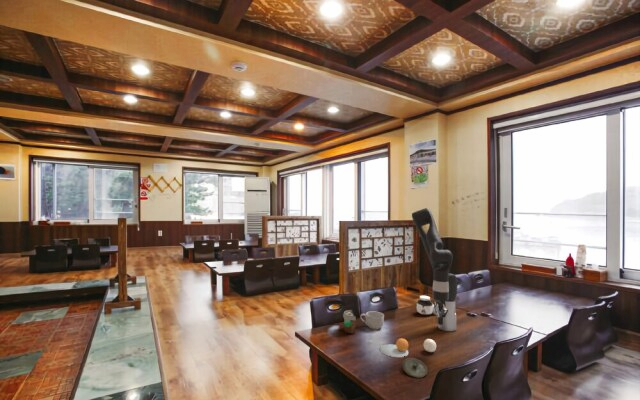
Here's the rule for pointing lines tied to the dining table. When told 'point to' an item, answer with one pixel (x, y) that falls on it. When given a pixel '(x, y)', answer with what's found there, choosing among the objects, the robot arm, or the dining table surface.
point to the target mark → (393, 351)
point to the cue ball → (429, 345)
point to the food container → (349, 321)
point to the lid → (414, 367)
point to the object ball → (402, 344)
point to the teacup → (373, 319)
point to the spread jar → (425, 306)
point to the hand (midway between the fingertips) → (440, 324)
